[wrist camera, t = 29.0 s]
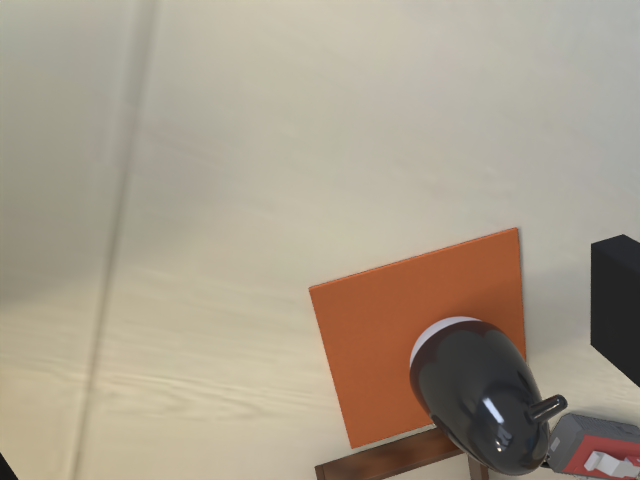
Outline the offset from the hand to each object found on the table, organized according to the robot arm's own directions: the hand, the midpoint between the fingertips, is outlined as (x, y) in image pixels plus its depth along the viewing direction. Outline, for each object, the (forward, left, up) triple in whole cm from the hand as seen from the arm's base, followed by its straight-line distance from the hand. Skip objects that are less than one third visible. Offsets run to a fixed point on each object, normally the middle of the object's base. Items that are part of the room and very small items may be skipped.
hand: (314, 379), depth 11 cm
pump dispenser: (+13, -26, -31) cm, 43 cm away
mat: (+12, -26, -32) cm, 43 cm away
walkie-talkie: (+31, -49, -32) cm, 66 cm away
